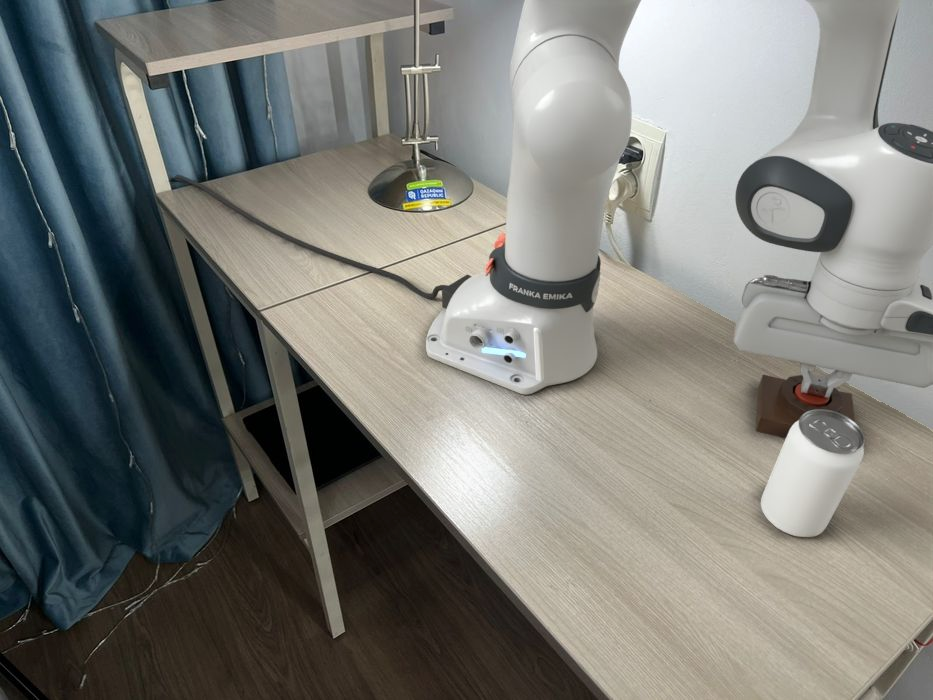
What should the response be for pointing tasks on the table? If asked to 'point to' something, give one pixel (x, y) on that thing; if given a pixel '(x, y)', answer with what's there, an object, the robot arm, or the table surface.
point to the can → (812, 472)
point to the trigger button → (810, 398)
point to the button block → (791, 405)
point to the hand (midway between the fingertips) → (814, 392)
